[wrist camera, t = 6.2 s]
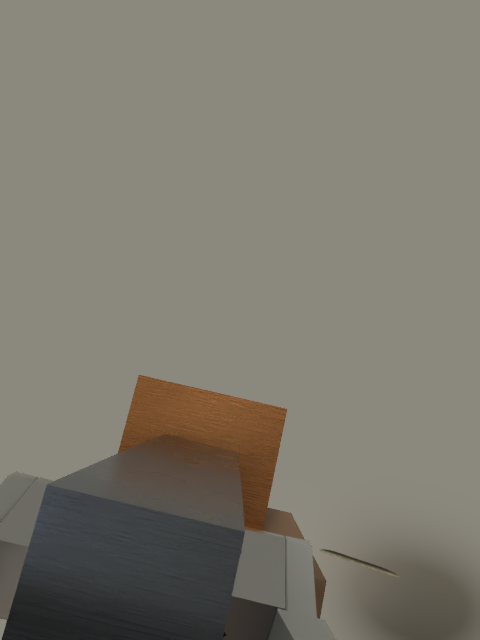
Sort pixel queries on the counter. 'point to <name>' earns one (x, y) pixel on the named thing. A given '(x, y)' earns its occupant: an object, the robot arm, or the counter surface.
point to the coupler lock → (151, 523)
